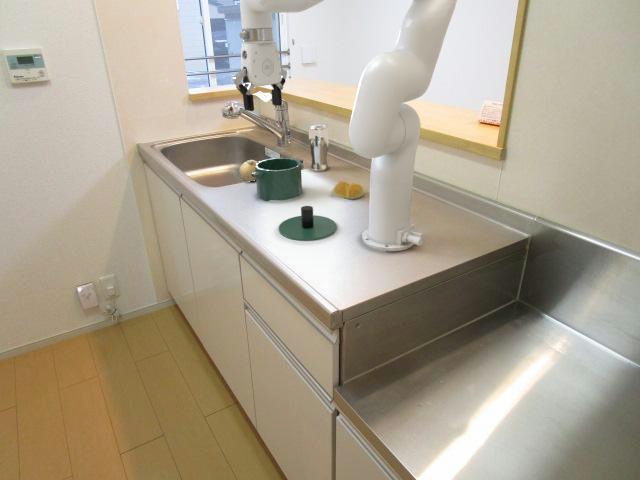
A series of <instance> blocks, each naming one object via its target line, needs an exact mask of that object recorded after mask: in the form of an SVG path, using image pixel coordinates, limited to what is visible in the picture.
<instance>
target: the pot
mask: <svg viewBox="0 0 640 480" xmlns="http://www.w3.org/2000/svg"><path fill="white" fill-rule="evenodd" d="M257 162H258V163H256V164H255V172H254V173H251V176H252V177H255V178H256V180H255V181H256V182H255V183H256V193H257V198H259V199H260V200H262V201H265V202H271V201H287V200H291V199H295V198H298V197H300V196H301V195H302V194H303V181H302V180H303V179H302V164H304V160H303V159H300V158H296V159H295V158H291V157H273V158H267V159H263V160H260V161H257Z"/></svg>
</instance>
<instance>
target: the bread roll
mask: <svg viewBox="0 0 640 480" xmlns="http://www.w3.org/2000/svg"><path fill="white" fill-rule="evenodd" d="M363 195H364V188H363V186H362V185H361V184H360V183H354V182H352V183H348V182H346V181H340V182H338V183H336V184H335V186H334V187H333V189H332V196H335V197H337V198H341V199H347V200H357V199H359V198H361V197H363Z"/></svg>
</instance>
